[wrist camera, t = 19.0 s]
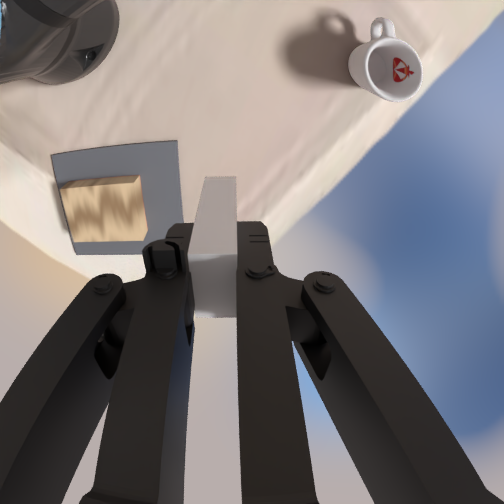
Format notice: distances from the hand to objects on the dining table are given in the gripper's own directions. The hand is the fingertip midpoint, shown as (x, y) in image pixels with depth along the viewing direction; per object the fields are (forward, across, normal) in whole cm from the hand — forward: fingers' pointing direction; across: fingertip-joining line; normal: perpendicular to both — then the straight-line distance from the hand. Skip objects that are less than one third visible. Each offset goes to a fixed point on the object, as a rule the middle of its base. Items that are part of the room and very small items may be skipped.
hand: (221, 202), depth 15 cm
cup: (+27, +18, +10) cm, 34 cm away
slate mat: (+26, -17, -12) cm, 34 cm away
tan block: (+24, -13, -12) cm, 30 cm away
